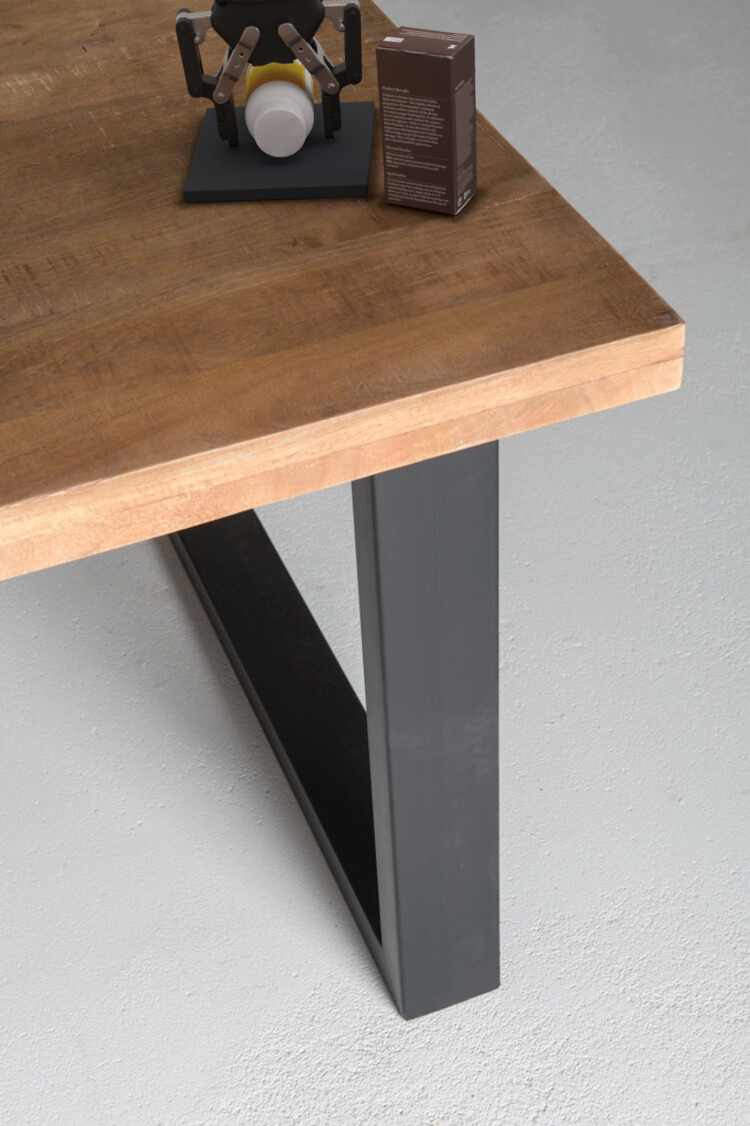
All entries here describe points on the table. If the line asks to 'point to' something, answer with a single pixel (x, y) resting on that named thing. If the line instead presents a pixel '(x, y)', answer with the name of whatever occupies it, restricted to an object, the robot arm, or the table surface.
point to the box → (428, 118)
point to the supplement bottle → (279, 106)
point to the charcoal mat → (284, 161)
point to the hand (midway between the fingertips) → (282, 138)
